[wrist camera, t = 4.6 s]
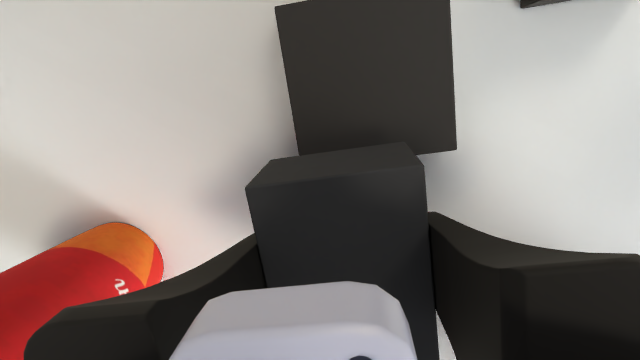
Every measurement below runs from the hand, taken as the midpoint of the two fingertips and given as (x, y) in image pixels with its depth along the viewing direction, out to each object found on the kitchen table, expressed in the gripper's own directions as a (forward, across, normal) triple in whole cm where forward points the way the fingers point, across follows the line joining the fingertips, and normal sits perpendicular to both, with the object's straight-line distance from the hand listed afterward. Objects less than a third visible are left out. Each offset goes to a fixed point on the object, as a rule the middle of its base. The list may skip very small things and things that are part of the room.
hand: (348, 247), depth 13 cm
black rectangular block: (+1, 0, 0) cm, 1 cm away
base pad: (+8, -2, -5) cm, 10 cm away
